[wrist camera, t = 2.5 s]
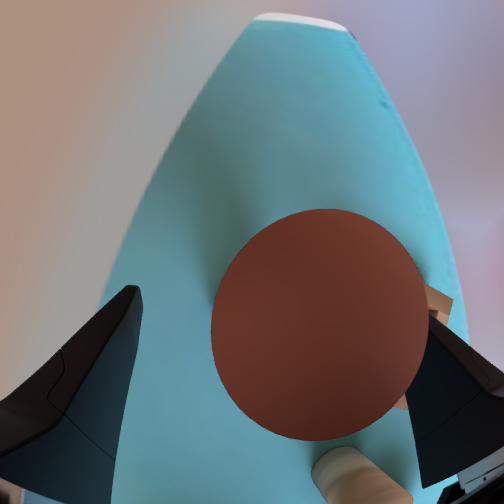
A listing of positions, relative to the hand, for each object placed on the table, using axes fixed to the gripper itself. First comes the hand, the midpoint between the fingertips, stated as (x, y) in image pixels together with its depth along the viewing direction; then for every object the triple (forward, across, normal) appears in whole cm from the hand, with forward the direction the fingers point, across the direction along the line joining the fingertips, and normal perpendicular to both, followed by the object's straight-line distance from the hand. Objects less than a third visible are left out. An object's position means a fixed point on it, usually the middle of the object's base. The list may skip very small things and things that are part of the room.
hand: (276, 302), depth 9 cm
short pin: (-3, -7, +14) cm, 16 cm away
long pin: (+5, 0, +6) cm, 8 cm away
